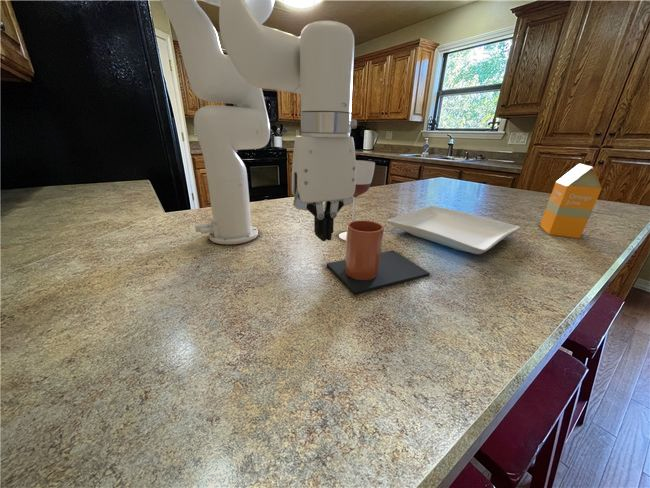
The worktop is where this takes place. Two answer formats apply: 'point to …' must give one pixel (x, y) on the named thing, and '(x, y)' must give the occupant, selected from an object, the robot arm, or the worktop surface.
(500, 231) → the square plate
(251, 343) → the worktop surface
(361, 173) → the wineglass
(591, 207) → the orange juice
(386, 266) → the mat
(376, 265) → the cup
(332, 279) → the worktop surface
